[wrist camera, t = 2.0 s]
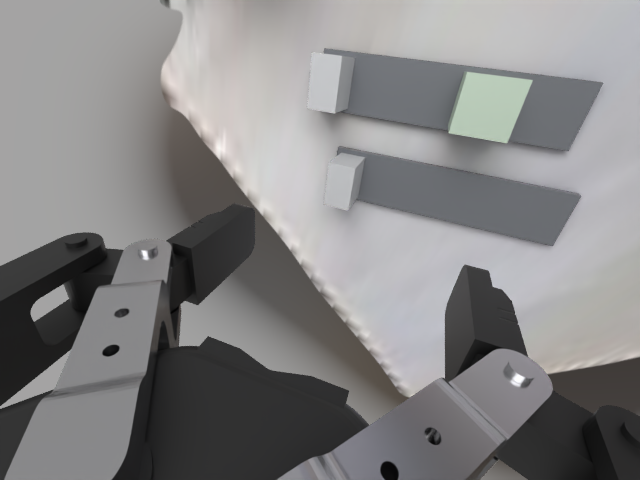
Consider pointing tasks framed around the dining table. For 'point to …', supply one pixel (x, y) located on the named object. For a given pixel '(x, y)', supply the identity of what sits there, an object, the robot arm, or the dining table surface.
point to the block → (488, 106)
